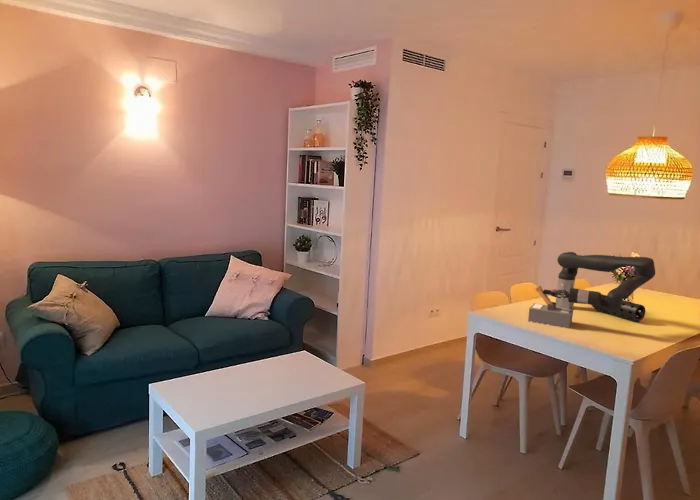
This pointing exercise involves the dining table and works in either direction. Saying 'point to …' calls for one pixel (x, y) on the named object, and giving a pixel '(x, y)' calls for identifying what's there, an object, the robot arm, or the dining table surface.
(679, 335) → the dining table surface
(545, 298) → the lever
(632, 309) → the muzzle brake
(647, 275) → the robot arm
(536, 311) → the breaker housing
